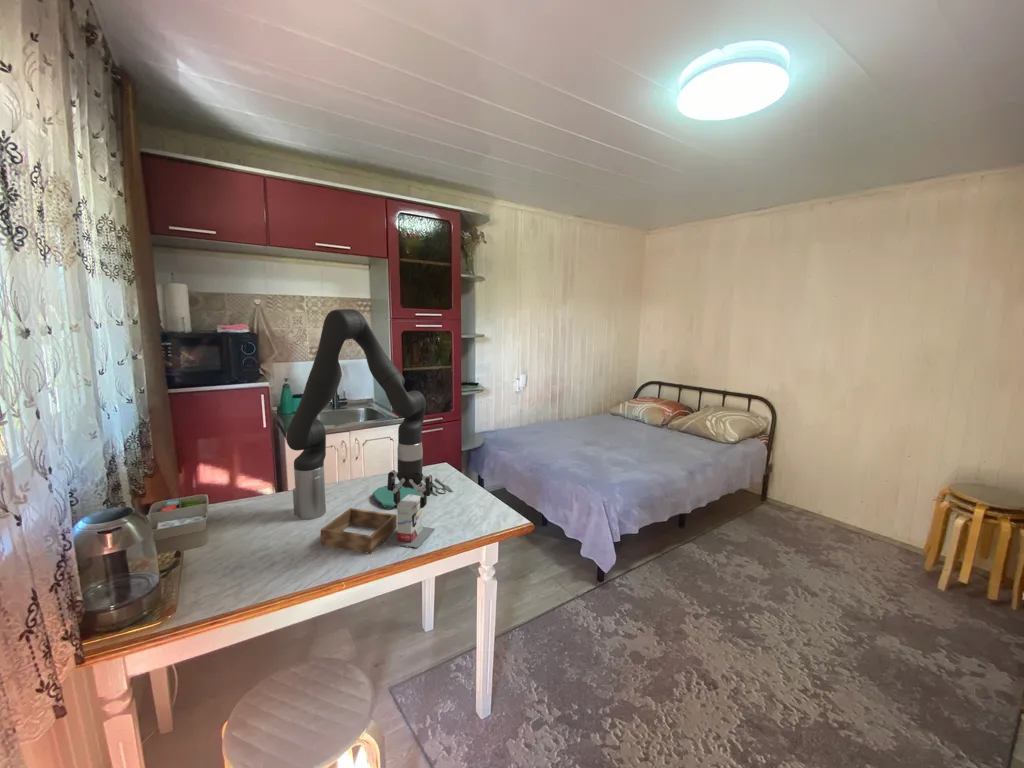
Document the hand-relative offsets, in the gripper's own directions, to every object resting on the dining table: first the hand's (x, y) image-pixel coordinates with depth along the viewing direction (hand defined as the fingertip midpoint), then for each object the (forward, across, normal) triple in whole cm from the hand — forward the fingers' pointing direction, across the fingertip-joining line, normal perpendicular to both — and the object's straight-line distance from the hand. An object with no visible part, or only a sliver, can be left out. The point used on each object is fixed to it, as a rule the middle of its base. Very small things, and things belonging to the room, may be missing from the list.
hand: (410, 505), depth 132 cm
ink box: (+10, 0, 0) cm, 10 cm away
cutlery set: (+11, -14, +29) cm, 34 cm away
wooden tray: (+11, -15, -5) cm, 19 cm away
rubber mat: (+10, 0, 0) cm, 11 cm away
